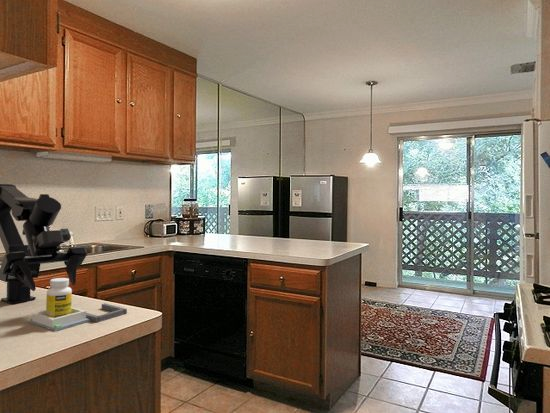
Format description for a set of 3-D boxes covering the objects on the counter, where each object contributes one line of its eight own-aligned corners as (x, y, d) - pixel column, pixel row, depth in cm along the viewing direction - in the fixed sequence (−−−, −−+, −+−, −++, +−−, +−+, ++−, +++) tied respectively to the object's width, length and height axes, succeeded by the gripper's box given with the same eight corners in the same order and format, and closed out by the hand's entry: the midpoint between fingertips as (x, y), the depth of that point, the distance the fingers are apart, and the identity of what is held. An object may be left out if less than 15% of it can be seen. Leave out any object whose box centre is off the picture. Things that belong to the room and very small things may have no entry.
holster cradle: (74, 315, 100) (74, 311, 100) (104, 307, 108) (104, 303, 108) (96, 322, 96) (96, 317, 96) (126, 313, 104) (126, 308, 104)
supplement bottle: (53, 324, 92) (54, 283, 91) (41, 319, 95) (41, 279, 94) (76, 318, 96) (76, 279, 96) (63, 314, 99) (64, 276, 99)
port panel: (29, 322, 95) (29, 312, 95) (62, 313, 102) (63, 304, 102) (55, 331, 89) (56, 320, 89) (89, 321, 96) (89, 311, 96)
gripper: (5, 219, 93) (20, 273, 86) (85, 217, 107) (103, 263, 101) (-6, 247, 98) (8, 300, 92) (72, 242, 113) (88, 287, 106)
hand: (55, 287), depth 97 cm, fingers open, 9 cm apart
